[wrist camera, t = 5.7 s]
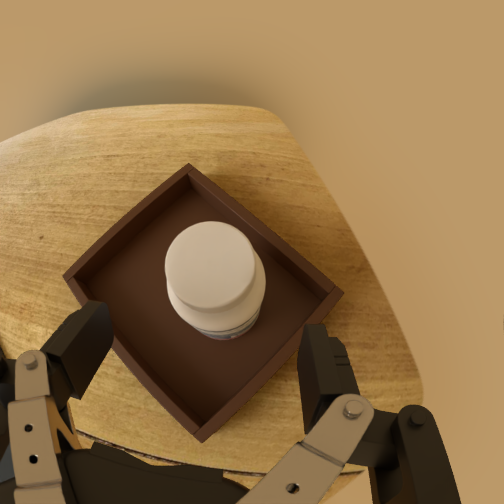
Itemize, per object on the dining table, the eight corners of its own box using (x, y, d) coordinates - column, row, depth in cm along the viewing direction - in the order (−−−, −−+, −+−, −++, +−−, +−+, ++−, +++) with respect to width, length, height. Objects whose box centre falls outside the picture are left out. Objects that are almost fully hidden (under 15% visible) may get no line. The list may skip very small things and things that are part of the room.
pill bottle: (190, 267, 22) (159, 206, 13) (260, 270, 22) (270, 207, 13) (184, 339, 19) (143, 317, 11) (259, 342, 20) (271, 324, 11)
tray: (334, 300, 21) (344, 292, 19) (206, 435, 17) (201, 444, 15) (192, 180, 25) (188, 162, 23) (77, 285, 21) (61, 275, 19)
